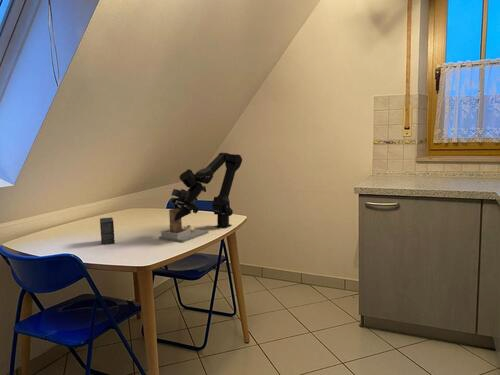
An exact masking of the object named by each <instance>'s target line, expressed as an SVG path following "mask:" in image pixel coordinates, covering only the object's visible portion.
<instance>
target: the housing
mask: <svg viewBox="0 0 500 375" xmlns="http://www.w3.org/2000/svg"><path fill="white" fill-rule="evenodd" d="M160 233H161V234H160V236H159V237H158V239H159V240H165V241H170V242H171V241H172V242H177V243H185V242H187V241H190V240H193V239H196V238H198V237H201V236H203V235H204V236H205V235H206V234H209V230H206V229H204V230H203V229H198V228H195V226H192V225H191V224H187V226H183V227H182V232H180V233H171V232H170V228H168V229H166V230H162V231H160Z"/></svg>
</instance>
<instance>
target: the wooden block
mask: <svg viewBox="0 0 500 375" xmlns="http://www.w3.org/2000/svg"><path fill="white" fill-rule="evenodd" d="M179 210H180V209H173V208H172V209H168V211H169V212H168V213H169V229H170V232H171V233H180V232H182V228H183V224H182V223H183V222H182V221H183V220H182V218H180V219H178V220H177V221H176V220H174V219H175V217H176V215H177V214H178V212H179Z"/></svg>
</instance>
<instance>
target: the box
mask: <svg viewBox="0 0 500 375" xmlns="http://www.w3.org/2000/svg"><path fill="white" fill-rule="evenodd" d="M113 219H114V218H113V217H112V216H111V217H102V218H101V217H100V218H99V227H100V228H99V229H100V241H101V246H102V245H103V246H104V245H113V244H115V243H116V242H115V241H116V240H115V226H114V220H113Z"/></svg>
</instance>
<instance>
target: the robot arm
mask: <svg viewBox="0 0 500 375" xmlns="http://www.w3.org/2000/svg"><path fill="white" fill-rule="evenodd" d="M242 162H243V157H242V156H241V155H240V154H236V153H235V154H233V153H228V152H220V153H218V155H217V156H216V157H215V158H214V159H213V160H212V161H211V162H210V163H209V164H208V165H207V166H206V167H204V168H201V169H199V170H197V171H196V172H195V173H194V172H193V170H191V169H186V170H185V171H183V172H182V173H180V175H179V177H178V178H179V180H180V182H182V184H183V185H184V186H186V188H188V189H184V188H181V189H176V188H173V190H172V192H171V196H173V197H171V198H169V200H168V201H169V202H170V204H172V209H180V210H179V212H178V214H177V215H176V217H175V219H174V220H176V221H177V220H178V219H180V218H181V219H182V218H184V217H186V216H188V215H190V214H192V213H193V214H197V213H198V212H199V207H198V206H197V204H196V203H195V202H197V201H198V197H199V195H200V194H201V193H202V192H203V193H206V192H207V189H206V186H205V185H204V184H206V185H208V184H210V183H211V181H212V179H213V178H214V175H215V173H216V172H217V171H218V170H219V169H220V167H221V166H223V165H225V169H226V170H225V173H224V176H223V180H222V183H221V186H220V190H219V193H218V195H217V196H214V197H213V201H212V202H211V205H212V206H211V208H212V211H213V214H214V215H216V216H217V217H216V218H217V219H216V222H217V223H216V224H217V225H215V226H214V227H216V228H222V229H223V228H224V229H226V228H229V227H231V226H232V223H231V224H230V217H231V216H232V215H233V213H234V210H233V209H232V208H231V207H230V206H231V205H230V204H231V201H230V199H229V196H230V192H231V189H232V185H233V181H234V178H235V175H236V172H237V171H238V170H239V169H240V167H241V165H242ZM221 168H222V167H221Z"/></svg>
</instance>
